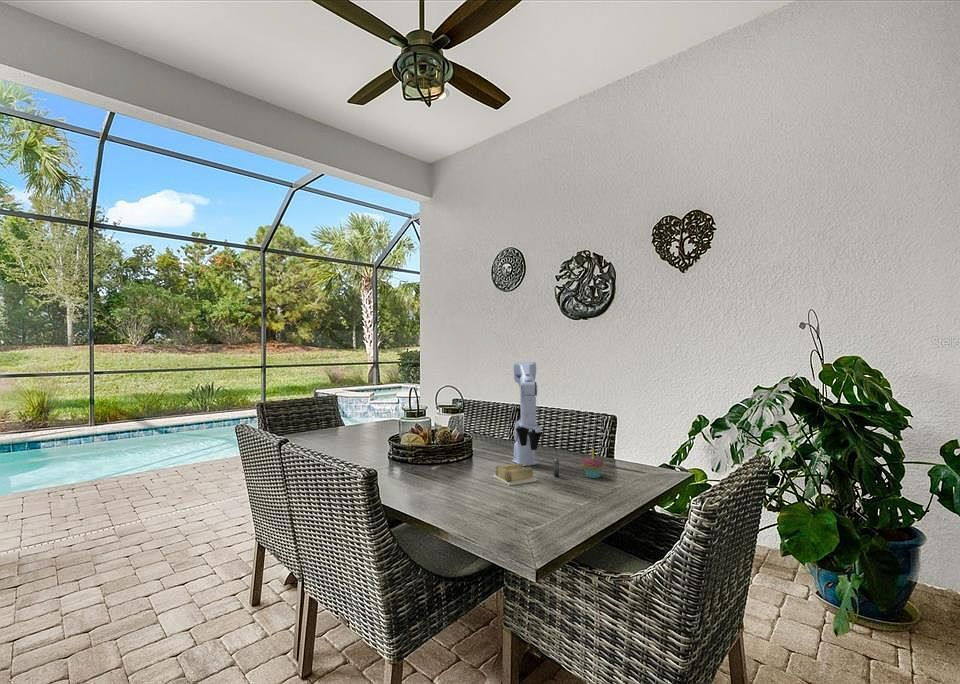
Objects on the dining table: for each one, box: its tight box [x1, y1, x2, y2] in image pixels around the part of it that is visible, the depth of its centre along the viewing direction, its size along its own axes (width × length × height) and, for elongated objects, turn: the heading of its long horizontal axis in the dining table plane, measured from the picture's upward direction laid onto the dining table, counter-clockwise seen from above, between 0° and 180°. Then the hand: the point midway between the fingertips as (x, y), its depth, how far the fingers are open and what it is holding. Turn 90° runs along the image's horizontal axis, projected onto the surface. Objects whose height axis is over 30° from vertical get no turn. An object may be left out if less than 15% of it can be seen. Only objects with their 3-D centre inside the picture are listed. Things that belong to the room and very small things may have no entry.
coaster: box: [492, 474, 538, 486], centre depth 173 cm, size 12×12×1 cm
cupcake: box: [580, 447, 605, 479], centre depth 176 cm, size 9×8×12 cm
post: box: [553, 458, 560, 478], centre depth 176 cm, size 2×2×7 cm
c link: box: [495, 463, 534, 482], centre depth 173 cm, size 9×11×4 cm
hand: (528, 447), depth 179 cm, fingers open, 7 cm apart
